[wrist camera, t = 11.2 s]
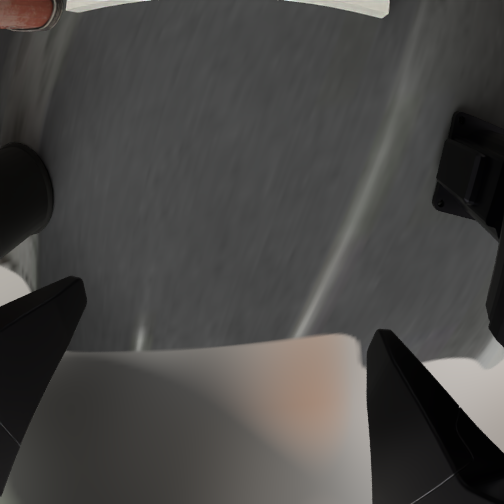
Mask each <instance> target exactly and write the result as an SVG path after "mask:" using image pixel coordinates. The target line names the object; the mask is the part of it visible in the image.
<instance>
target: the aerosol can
mask: <svg viewBox="0 0 504 504" xmlns="http://www.w3.org/2000/svg"><path fill="white" fill-rule="evenodd" d="M52 209H53V192H52V187H51V182H50V179H49V176H48V173H47V171H46V169H45V167H44V165H43V163H42V161H41V160H40V158H39V157H38V156H37V155H36V154H35V152H34V151H33V150H31V149H30V148H29V147H27V146H26V145H23V144H21V143H10V144H7V145H5V146H4V147H2V148H1V149H0V259H1V258H3V257H4V256H5V255H6V254H8V253H9V252H10V251H11V250H13V249H14V248H15V247H16V246H18V245H19V244H20V243H21V242H23V241H24V240H25V239H26V238H28V237H29V236H30V235H33V234H37V233H39V232H41V231H42V230H43V229H44V228H45V227H46V226H47V224H48V222H49V220H50V218H51V214H52Z"/></svg>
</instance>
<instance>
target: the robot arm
mask: <svg viewBox="0 0 504 504" xmlns="http://www.w3.org/2000/svg"><path fill="white" fill-rule="evenodd" d="M460 116H461V117H462V122H461V123H459V117H460ZM436 178H437V180H438V182H437V186H436V189H435V193H434V196H433V200H432V204H433V206H434V208H435V209H436V210H438V211H441V212H445V213H449V214H453V215H457V216H461V217H465V218H469V219H473V220H476V221H477V222H478V223H479V224H480V225H481V226H482V227H484V228H485V229H486V230H487V231H488V232H489V233H490V234H491V235H492V236H493V237H494V238H495V239H496V240H497V241H498V242H499V246H498V251H497V256H496V261H495V266H494V270H493V275H492V279H491V283H490V287H489V291H488V296H487V301H486V308H487V313H488V318H489V320H490V323H489V326H488V327H489V330H490V331H491V333H492V334H493V336H494V337H495V339H496V340H497V341H498V342H499V343H500V344H501V345H502V346H503V347H504V129H502V128H499V127H497V126H495V125H493V124H490V123H488V122H486V121H483V120H481V119H479V118H476V117H474V116H471V115H469V114H466V113H464V112H459V111H457V112H455V113H454V114H453V117H452V122H451V127H450V132H449V136H448V139H447V140H446V141H445V144H444V148H443V153H442V157H441V161H440V165H439V169H438V173H437V177H436ZM440 200H442V203H441V204H440V205H438V202H439V201H440ZM86 304H87V297H86V293H85V288H84V283H83V280H82V279H81V278H79V277H75V276H69V277H66V278H64V279H62V280H59V281H57V282H55V283H52V284H50V285H48V286H45V287H43V288H41V289H38V290H36V291H34V292H32V293H29V294H27V295H25V296H23V297H21V298H18V299H16V300H14V301H12V302H9V303H7V304H5V305H3V306H1V307H0V496H1V495H2V493H3V491H4V488H5V485H6V482H7V479H8V477H9V474H10V471H11V469H12V466H13V463H14V461H15V458H16V455H17V453H18V451H19V448H20V445H21V443H22V441H23V438H24V436H25V434H26V431H27V429H28V427H29V425H30V422H31V420H32V418H33V416H34V413H35V411H36V409H37V407H38V405H39V403H40V401H41V398H42V396H43V394H44V392H45V390H46V388H47V386H48V384H49V382H50V380H51V378H52V376H53V374H54V372H55V370H56V368H57V366H58V365H59V363H60V361H61V359H62V357H63V355H64V353H65V351H66V350H67V348H68V346H69V344H70V341H71V339H72V337H73V335H74V332H75V330H76V328H77V325H78V323H79V321H80V318H81V316H82V314H83V312H84V310H85V307H86ZM367 412H368V423H369V437H370V449H371V450H370V452H371V470H372V502H373V504H504V453H503V452H502V451H501V450H500V449H499V448H498V447H497V446H496V445H495V444H494V443H493V442H492V441H491V440H490V439H489V438H488V437H487V436H486V435H485V434H484V433H483V432H482V431H481V430H480V429H479V428H478V427H477V426H476V425H475V423H474V422H473V421H472V420H471V419H470V418H469V417H468V415H467V414H466V413H465V412H464V411H463V410H462V408H459V405H458V404H457V403H456V402H455V401H454V399H453V398H452V397H451V396H450V395H449V394H448V392H447V391H446V390H445V389H444V388H443V387H442V386H441V384H440V383H439V382H438V381H437V380H436V379H435V378H434V377H433V375H432V374H431V373H430V372H429V371H428V370H427V369H426V368H425V366H423V364H422V363H421V362H420V361H419V360H418V359H417V358H416V357H415V355H414V354H413V353H412V352H411V351H410V350H409V349H408V348H407V347H406V346H405V345H404V343H403V342H402V341H401V340H400V339H399V338H398V337H397V336H396V335H395V334H394V333H393V332H392V331H391V330H387V329H378V330H377V331H376V332H375V334H374V337H373V339H372V341H371V343H370V345H369V348H368V350H367Z"/></svg>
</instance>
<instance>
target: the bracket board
mask: <svg viewBox="0 0 504 504" xmlns="http://www.w3.org/2000/svg"><path fill="white" fill-rule="evenodd" d="M141 1H149V0H67V5H66V10H67V11H72V12H78V13H79V12H84V11H88V10H93V9H98V8H103V7H108V6H114V5H120V4H126V3H133V2H141ZM286 1H295V2H302V3H309V4H316V5H322V6H328V7H333V8H338V9H343V10H348V11H353V12H357V13H361V14H366V15H370V16H374V17H377V18H381V19H382V18H383V17H385V16H386V15H387V14H389V4H390V0H286Z"/></svg>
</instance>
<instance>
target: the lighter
mask: <svg viewBox="0 0 504 504" xmlns="http://www.w3.org/2000/svg"><path fill="white" fill-rule="evenodd" d="M62 10H63V3H62V1H61V0H0V29H9V30H13V31H31V32H34V31H44V30H49V29H51V28H52V27H54V26H55V24H56V23H57V22H58V20H59V18H60V16H61V14H62Z"/></svg>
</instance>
